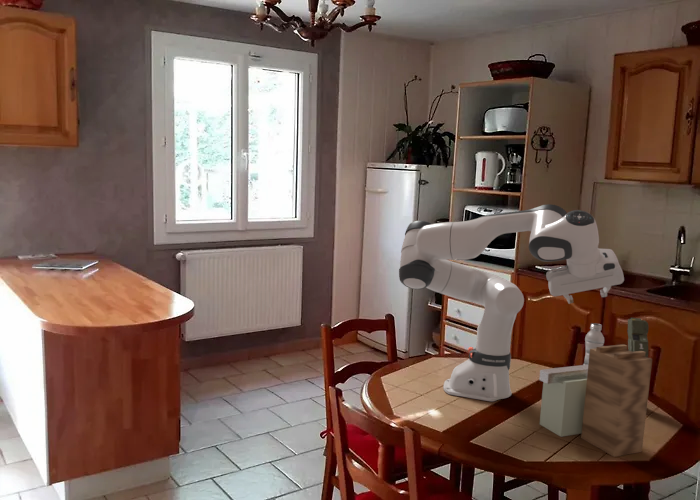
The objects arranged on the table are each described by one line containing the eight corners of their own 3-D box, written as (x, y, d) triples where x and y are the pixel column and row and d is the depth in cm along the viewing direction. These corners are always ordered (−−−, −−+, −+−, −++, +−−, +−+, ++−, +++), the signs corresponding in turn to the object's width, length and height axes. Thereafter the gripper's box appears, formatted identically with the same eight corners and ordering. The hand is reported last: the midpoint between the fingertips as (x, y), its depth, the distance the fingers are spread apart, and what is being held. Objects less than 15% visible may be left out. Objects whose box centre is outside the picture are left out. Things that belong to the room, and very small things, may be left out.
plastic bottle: (599, 381, 226) (604, 327, 224) (579, 377, 230) (584, 324, 227) (602, 377, 232) (607, 324, 229) (583, 373, 235) (588, 321, 233)
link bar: (547, 383, 176) (548, 373, 176) (539, 379, 179) (540, 369, 179) (599, 377, 184) (600, 367, 183) (590, 373, 187) (591, 364, 186)
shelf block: (560, 436, 177) (565, 382, 175) (539, 424, 185) (544, 372, 183) (593, 431, 182) (598, 378, 180) (571, 419, 190) (576, 368, 188)
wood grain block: (614, 456, 166) (624, 357, 162) (581, 438, 177) (590, 344, 173) (641, 451, 170) (652, 354, 166) (607, 433, 181) (617, 342, 177)
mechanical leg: (651, 416, 193) (655, 318, 196) (626, 413, 194) (630, 316, 198) (639, 410, 207) (643, 319, 210) (615, 407, 208) (620, 317, 211)
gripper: (547, 277, 173) (552, 313, 181) (625, 262, 169) (626, 299, 177) (543, 263, 178) (548, 298, 186) (617, 248, 174) (619, 284, 182)
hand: (587, 298), depth 182 cm, fingers open, 8 cm apart
